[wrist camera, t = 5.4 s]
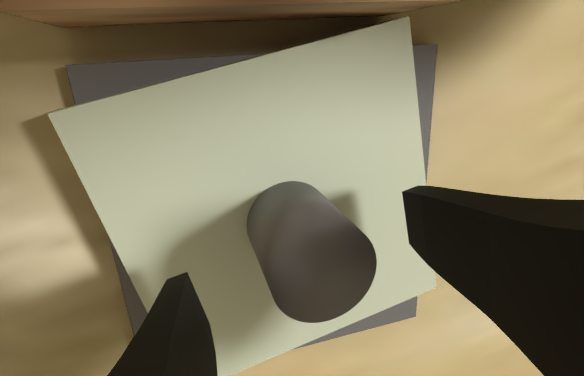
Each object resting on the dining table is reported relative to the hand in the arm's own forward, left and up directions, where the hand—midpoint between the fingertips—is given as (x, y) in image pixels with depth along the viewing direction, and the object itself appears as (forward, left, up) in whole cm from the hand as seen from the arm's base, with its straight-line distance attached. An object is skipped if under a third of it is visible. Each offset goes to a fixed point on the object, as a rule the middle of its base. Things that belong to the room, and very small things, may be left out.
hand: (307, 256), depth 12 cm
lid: (0, 0, -2) cm, 3 cm away
